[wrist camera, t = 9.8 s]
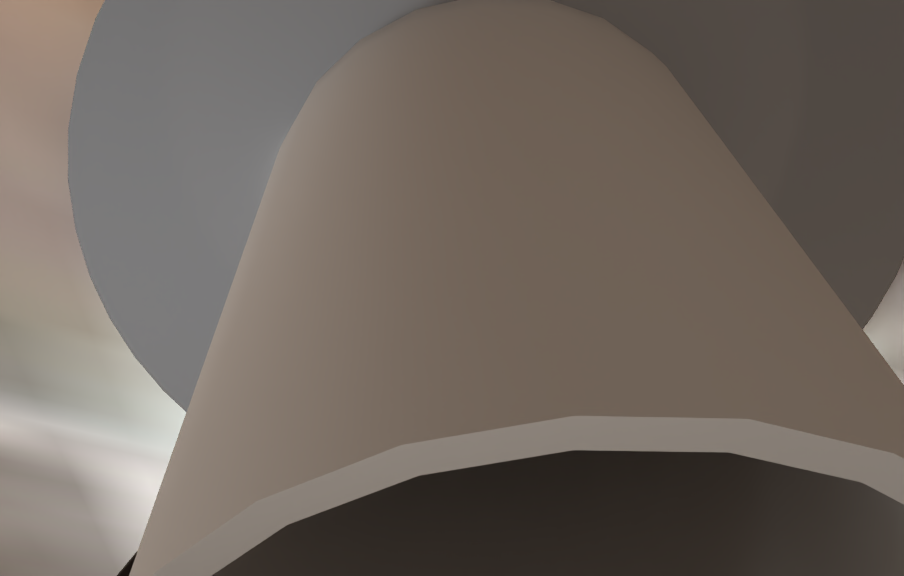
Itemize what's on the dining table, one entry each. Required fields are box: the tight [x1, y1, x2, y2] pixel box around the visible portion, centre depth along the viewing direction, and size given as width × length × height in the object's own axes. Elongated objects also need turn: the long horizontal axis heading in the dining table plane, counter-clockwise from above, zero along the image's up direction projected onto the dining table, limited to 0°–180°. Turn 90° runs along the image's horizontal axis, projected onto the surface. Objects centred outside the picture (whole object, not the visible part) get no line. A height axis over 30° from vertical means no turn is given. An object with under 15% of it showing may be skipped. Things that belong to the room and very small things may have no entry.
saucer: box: [68, 0, 904, 412], centre depth 15 cm, size 15×15×1 cm
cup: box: [129, 0, 904, 576], centre depth 11 cm, size 7×10×9 cm
